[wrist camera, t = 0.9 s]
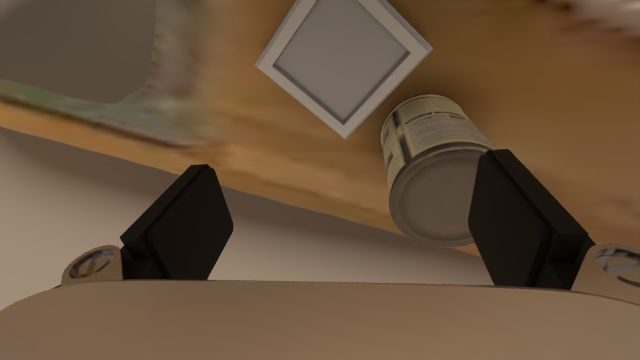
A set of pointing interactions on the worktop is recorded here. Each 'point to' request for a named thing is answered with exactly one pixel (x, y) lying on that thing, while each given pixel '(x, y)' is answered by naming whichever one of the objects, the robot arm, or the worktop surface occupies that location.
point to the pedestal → (342, 57)
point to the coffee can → (432, 169)
